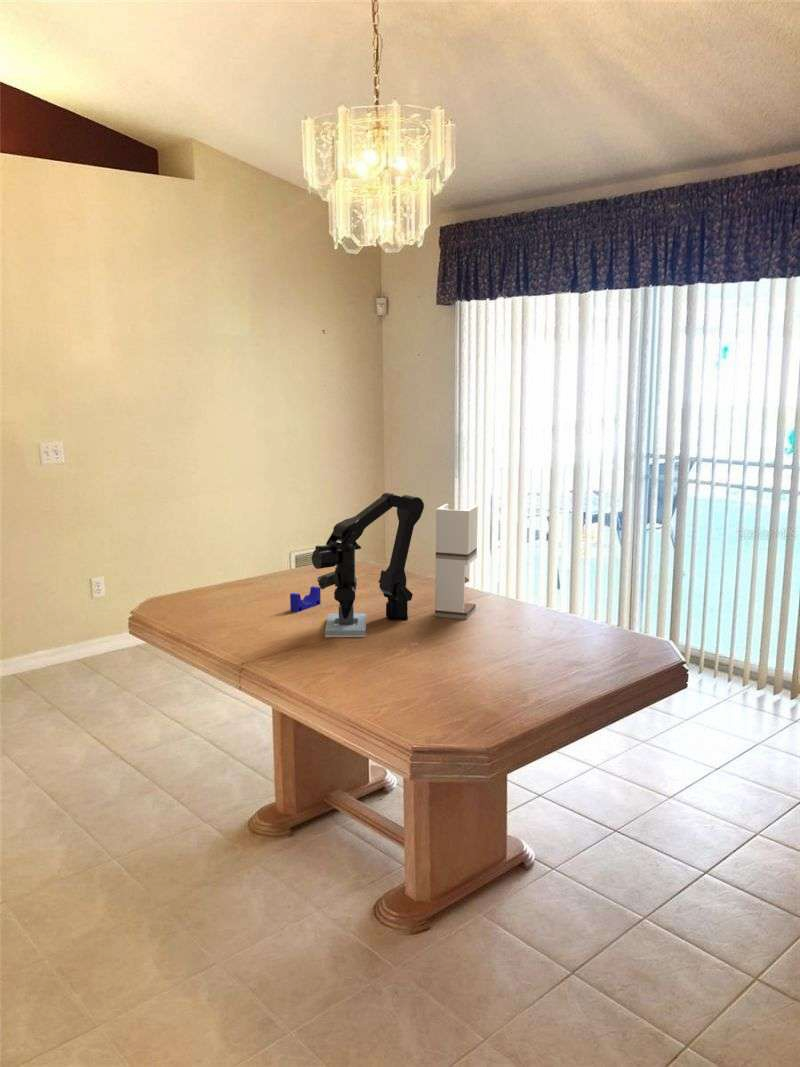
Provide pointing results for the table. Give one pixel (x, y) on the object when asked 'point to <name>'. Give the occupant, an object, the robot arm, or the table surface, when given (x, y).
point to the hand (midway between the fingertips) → (346, 614)
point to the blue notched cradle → (305, 600)
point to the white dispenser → (454, 560)
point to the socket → (345, 626)
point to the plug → (349, 620)
